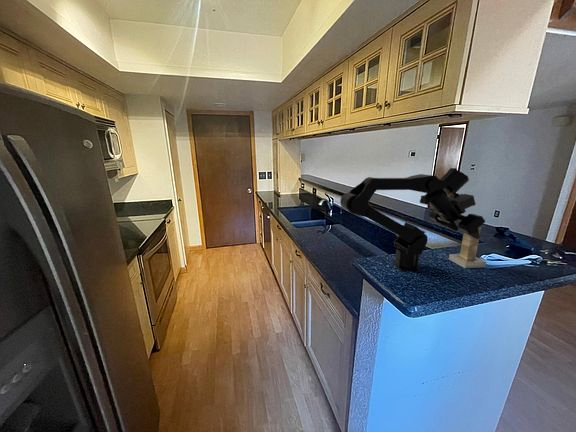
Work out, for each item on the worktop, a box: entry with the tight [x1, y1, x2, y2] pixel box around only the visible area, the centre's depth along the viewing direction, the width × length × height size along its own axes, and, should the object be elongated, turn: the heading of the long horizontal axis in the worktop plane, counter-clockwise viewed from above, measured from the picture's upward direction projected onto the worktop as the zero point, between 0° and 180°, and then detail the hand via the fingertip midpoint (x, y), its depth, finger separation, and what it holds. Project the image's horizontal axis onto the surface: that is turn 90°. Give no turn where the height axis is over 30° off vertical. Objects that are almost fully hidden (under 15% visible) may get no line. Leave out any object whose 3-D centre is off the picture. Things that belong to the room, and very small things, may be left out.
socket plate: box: [448, 253, 487, 269], centre depth 86 cm, size 8×8×2 cm
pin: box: [459, 226, 482, 261], centre depth 85 cm, size 3×3×14 cm
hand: (467, 234), depth 84 cm, fingers open, 9 cm apart
